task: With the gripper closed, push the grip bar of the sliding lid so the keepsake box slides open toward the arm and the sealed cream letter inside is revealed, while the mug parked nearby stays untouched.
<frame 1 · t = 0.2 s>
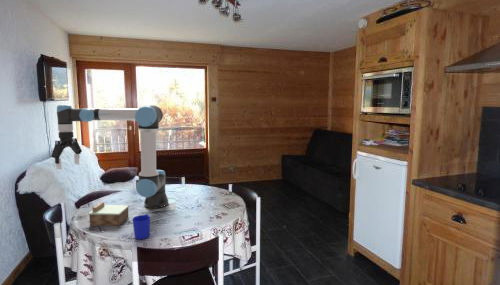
hand: (68, 166, 180), 28 cm above the table, fingers open, 13 cm apart
mug: (143, 235, 152), on the table
lid: (109, 207, 168), point 8 cm above the table, slide at 0.0 cm
box: (109, 221, 169), on the table
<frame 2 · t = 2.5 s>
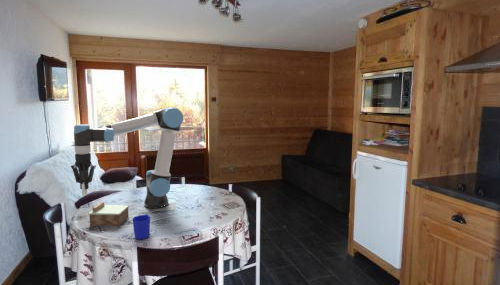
hand: (84, 194, 167), 15 cm above the table, fingers closed
nothing on the table moved.
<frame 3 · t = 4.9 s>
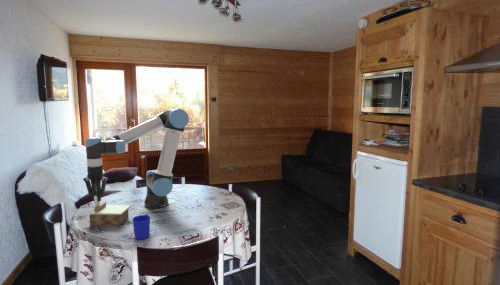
hand: (97, 206, 168), 8 cm above the table, fingers closed
lid: (111, 207, 168), point 8 cm above the table, slide at 1.0 cm, touching gripper
everything else where it was.
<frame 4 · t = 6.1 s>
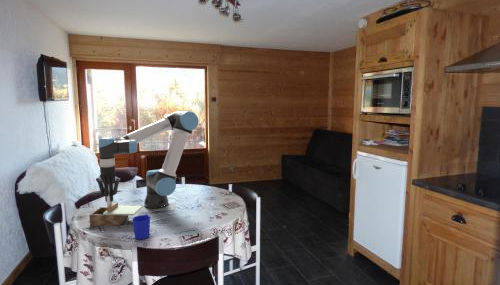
hand: (109, 207, 168), 8 cm above the table, fingers closed
lid: (123, 208, 168), point 8 cm above the table, slide at 7.9 cm, touching gripper
everything else where it was.
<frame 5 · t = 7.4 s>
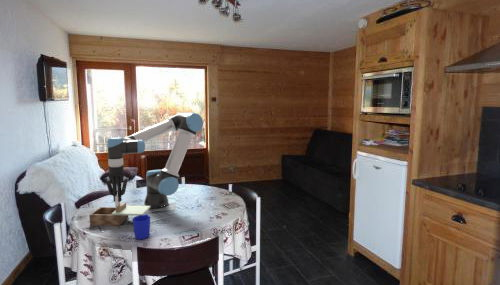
hand: (117, 207, 168), 8 cm above the table, fingers closed
lid: (131, 208, 168), point 8 cm above the table, slide at 12.6 cm, touching gripper
everything else where it was.
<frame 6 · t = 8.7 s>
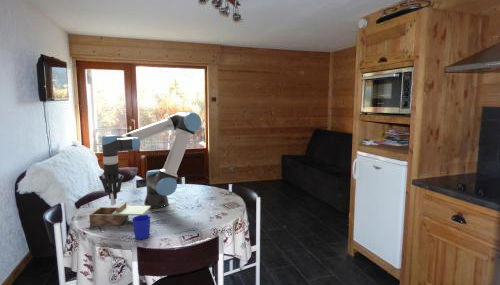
hand: (113, 204, 168), 10 cm above the table, fingers closed
lid: (131, 208, 168), point 8 cm above the table, slide at 12.7 cm
everything else where it was.
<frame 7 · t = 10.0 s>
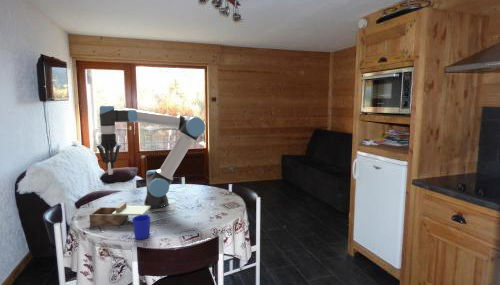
hand: (110, 174, 172), 26 cm above the table, fingers closed
nothing on the table moved.
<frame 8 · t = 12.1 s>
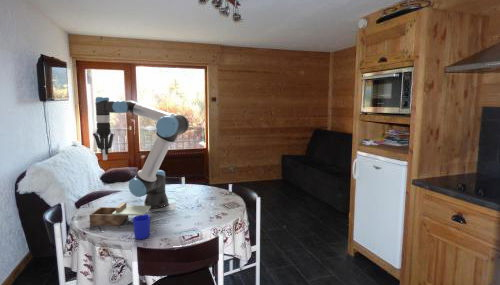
hand: (105, 159, 189), 30 cm above the table, fingers closed
nothing on the table moved.
at the end: lid slide at 12.7 cm; mug moved 0.2 cm from its start; mug tilted 0° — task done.
